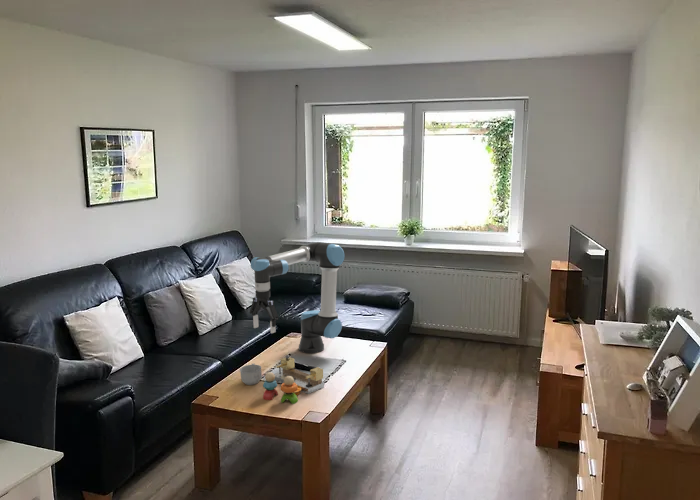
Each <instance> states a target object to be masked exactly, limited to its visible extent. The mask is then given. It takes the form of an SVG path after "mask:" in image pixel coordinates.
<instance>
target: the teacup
mask: <svg viewBox="0 0 700 500" xmlns="http://www.w3.org/2000/svg"><path fill="white" fill-rule="evenodd" d="M239 373H240V379H241V381H242V383H244V384H245V385H247V386H253V385H254V386H255V385H257V384H258V383H259V382H260V381H261V380H262V377H263V375H262V365H260V364H256V363H254V362H253V363H251V364H248V365H244V366H241V367H240V368H239Z"/></svg>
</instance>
